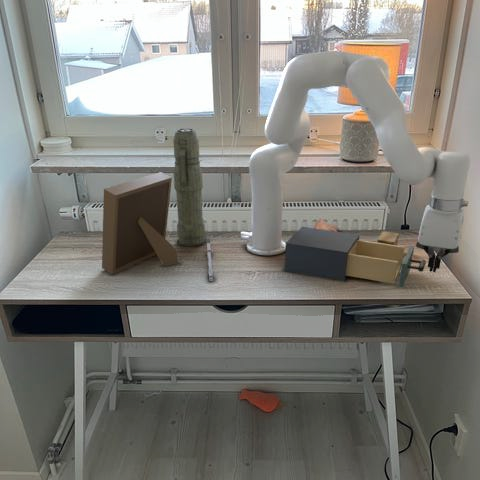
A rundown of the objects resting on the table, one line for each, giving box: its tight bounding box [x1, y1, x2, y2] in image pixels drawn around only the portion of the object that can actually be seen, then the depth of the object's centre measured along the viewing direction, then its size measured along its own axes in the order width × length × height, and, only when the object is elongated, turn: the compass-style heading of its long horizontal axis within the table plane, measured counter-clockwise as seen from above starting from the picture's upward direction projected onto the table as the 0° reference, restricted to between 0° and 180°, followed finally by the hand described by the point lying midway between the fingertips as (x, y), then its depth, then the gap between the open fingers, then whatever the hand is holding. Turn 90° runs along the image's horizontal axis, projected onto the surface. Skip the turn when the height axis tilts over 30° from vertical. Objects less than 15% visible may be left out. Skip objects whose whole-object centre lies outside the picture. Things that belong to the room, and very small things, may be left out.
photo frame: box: [101, 171, 179, 275], centre depth 149 cm, size 15×22×25 cm
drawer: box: [345, 239, 427, 288], centre depth 145 cm, size 21×13×7 cm, turn 66°
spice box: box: [376, 231, 400, 246], centre depth 160 cm, size 5×8×6 cm, turn 156°
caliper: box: [206, 235, 214, 282], centre depth 152 cm, size 20×1×6 cm, turn 5°
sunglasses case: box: [314, 218, 340, 232], centre depth 172 cm, size 18×7×7 cm
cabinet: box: [284, 226, 360, 282], centre depth 151 cm, size 18×15×9 cm
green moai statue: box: [172, 128, 206, 247], centre depth 163 cm, size 9×12×35 cm
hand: (432, 269), depth 140 cm, fingers closed
